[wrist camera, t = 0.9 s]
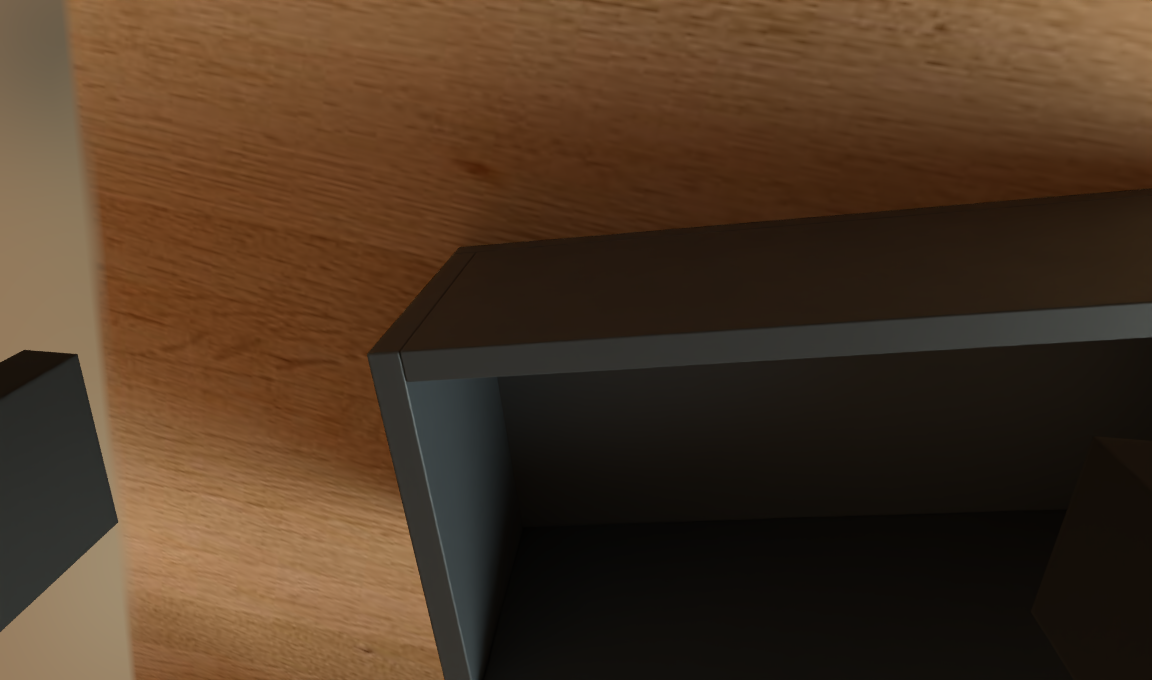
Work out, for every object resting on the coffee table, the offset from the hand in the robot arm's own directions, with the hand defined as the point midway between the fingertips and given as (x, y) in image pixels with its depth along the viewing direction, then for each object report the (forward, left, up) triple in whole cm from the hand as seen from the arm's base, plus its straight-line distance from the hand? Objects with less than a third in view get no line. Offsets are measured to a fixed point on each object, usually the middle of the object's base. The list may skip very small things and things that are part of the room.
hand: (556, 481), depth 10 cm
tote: (+4, +9, -16) cm, 18 cm away
